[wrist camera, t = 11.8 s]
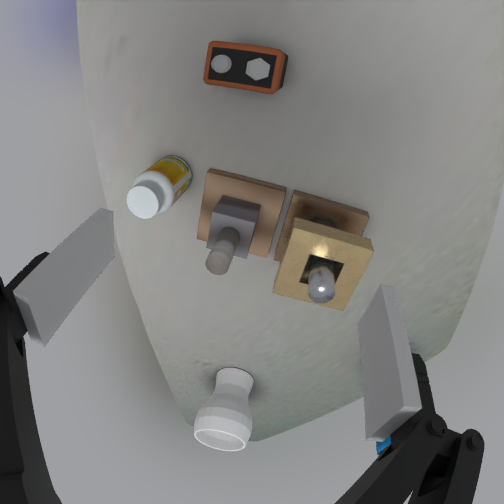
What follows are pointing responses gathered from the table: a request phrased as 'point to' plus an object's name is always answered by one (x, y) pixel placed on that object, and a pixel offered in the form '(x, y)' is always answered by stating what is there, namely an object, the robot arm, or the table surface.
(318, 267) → the peg stand
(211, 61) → the battery
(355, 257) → the brass plate
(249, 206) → the rod stand
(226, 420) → the cup
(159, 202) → the supplement bottle
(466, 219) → the table surface
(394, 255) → the table surface
